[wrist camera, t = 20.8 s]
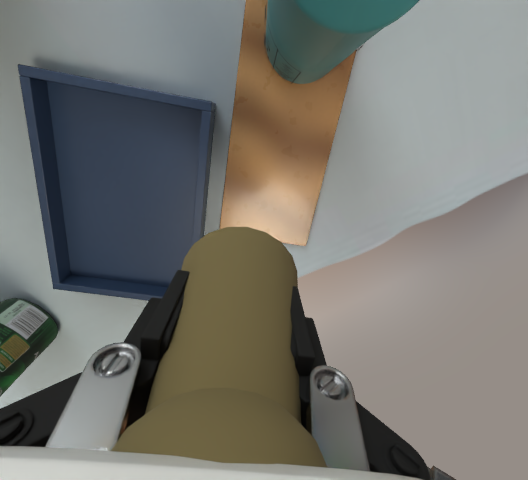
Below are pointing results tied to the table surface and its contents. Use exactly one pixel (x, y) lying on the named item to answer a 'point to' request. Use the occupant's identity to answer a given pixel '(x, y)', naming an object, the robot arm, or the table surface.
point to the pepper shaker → (229, 361)
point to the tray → (117, 180)
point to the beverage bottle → (322, 32)
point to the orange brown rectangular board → (278, 139)
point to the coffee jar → (22, 337)
